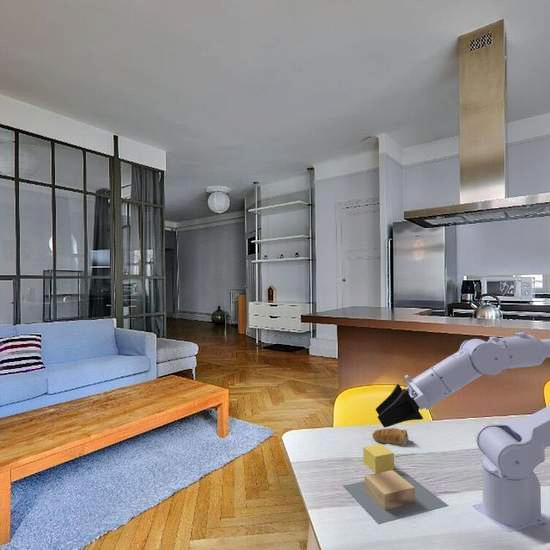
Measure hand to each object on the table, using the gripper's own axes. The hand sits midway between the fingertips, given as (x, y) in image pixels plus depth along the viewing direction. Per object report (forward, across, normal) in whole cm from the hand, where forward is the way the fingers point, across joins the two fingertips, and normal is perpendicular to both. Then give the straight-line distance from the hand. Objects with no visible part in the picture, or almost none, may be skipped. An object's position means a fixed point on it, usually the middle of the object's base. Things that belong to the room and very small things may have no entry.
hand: (379, 418), depth 72 cm
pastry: (+3, -34, +14) cm, 37 cm away
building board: (+7, -7, +16) cm, 19 cm away
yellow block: (+8, -19, +13) cm, 24 cm away
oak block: (+7, -7, +15) cm, 18 cm away
